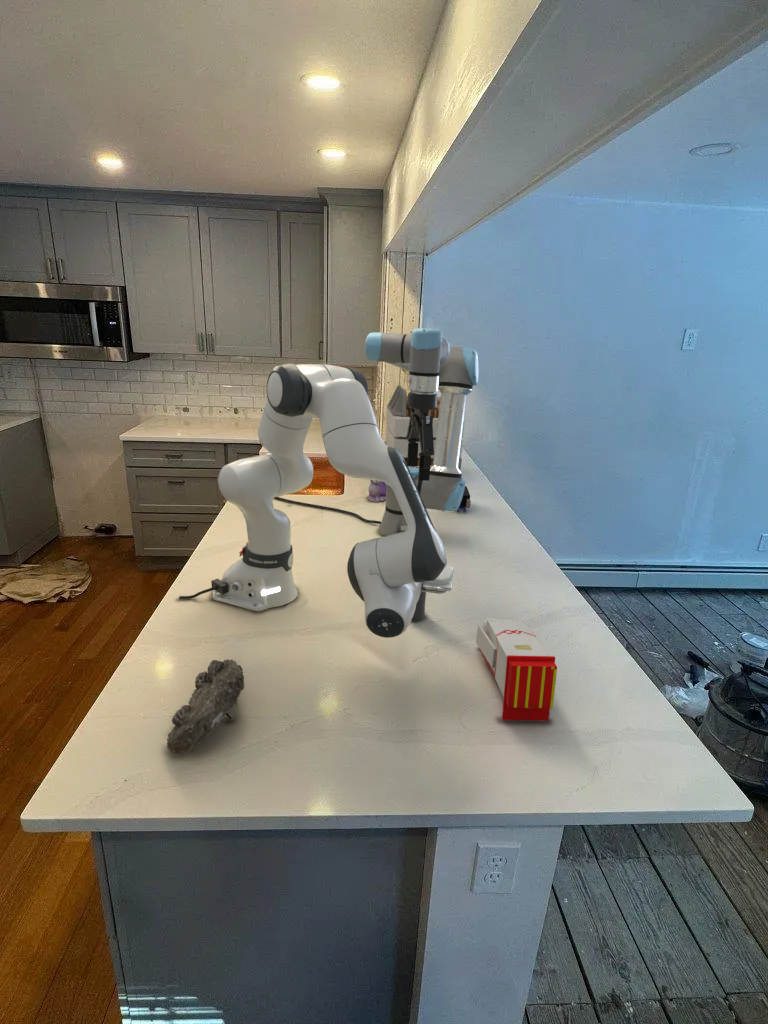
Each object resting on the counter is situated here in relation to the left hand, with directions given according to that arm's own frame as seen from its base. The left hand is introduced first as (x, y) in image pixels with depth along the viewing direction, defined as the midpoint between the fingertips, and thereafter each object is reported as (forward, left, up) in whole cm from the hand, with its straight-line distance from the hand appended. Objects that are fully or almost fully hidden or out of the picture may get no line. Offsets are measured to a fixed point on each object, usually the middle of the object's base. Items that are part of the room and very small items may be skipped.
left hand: (411, 558), depth 130 cm
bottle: (0, +11, -21) cm, 24 cm away
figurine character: (+5, +101, -21) cm, 103 cm away
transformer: (-18, +146, -21) cm, 149 cm away
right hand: (-3, +27, +13) cm, 30 cm away
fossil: (-31, -37, -21) cm, 53 cm away
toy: (+24, -10, -21) cm, 34 cm away
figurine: (-29, +101, -21) cm, 107 cm away
